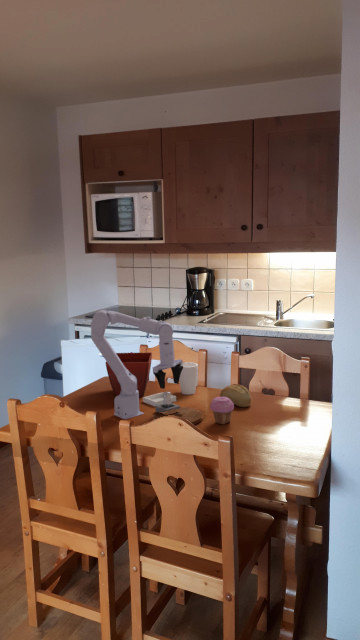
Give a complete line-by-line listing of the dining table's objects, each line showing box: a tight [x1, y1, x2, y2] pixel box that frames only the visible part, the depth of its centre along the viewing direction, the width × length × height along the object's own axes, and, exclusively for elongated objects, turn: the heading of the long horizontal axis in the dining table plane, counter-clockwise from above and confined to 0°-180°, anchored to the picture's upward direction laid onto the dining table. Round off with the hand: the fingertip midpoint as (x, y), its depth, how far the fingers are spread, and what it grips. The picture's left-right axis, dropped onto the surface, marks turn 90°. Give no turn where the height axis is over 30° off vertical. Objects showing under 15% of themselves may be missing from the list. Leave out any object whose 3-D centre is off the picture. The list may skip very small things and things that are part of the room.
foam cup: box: [179, 361, 199, 396], centre depth 232 cm, size 10×9×13 cm
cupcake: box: [210, 396, 235, 425], centre depth 193 cm, size 9×9×10 cm
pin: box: [163, 391, 172, 408], centre depth 206 cm, size 3×3×8 cm
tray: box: [142, 391, 177, 407], centre depth 220 cm, size 11×9×2 cm
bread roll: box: [219, 383, 252, 408], centre depth 215 cm, size 10×15×8 cm, turn 44°
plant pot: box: [105, 352, 153, 398], centre depth 233 cm, size 19×19×17 cm
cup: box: [154, 402, 181, 413], centre depth 206 cm, size 7×7×3 cm
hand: (169, 385), depth 205 cm, fingers open, 7 cm apart
